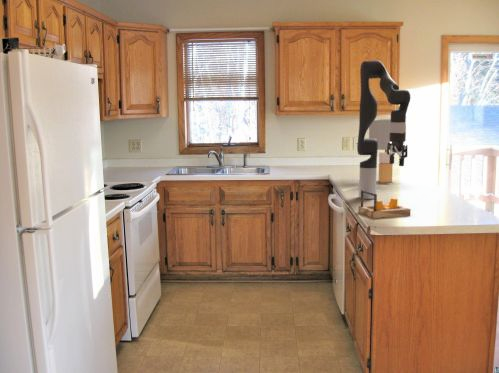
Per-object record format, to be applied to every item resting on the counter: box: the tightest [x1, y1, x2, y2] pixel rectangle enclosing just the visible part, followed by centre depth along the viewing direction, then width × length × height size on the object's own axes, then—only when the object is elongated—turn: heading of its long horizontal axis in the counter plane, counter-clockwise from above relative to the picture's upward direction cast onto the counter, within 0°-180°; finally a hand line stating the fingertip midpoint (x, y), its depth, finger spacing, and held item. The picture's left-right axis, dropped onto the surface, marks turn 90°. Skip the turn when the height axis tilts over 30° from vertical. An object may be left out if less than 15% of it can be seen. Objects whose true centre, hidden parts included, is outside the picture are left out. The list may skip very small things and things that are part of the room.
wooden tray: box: [358, 190, 412, 219], centre depth 249 cm, size 15×19×11 cm
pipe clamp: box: [376, 197, 398, 210], centre depth 250 cm, size 12×4×6 cm, turn 121°
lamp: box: [368, 118, 405, 184], centre depth 349 cm, size 23×23×42 cm
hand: (396, 164), depth 256 cm, fingers open, 8 cm apart
